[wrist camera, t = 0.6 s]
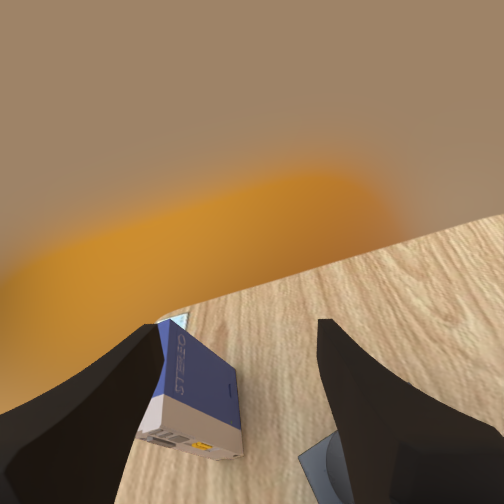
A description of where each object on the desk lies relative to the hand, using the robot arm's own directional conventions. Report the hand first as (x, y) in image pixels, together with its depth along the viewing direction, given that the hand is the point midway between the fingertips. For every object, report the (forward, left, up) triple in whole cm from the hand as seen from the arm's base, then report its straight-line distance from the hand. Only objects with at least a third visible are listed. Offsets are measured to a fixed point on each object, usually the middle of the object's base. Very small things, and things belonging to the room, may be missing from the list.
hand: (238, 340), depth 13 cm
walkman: (+6, +8, -17) cm, 19 cm away
